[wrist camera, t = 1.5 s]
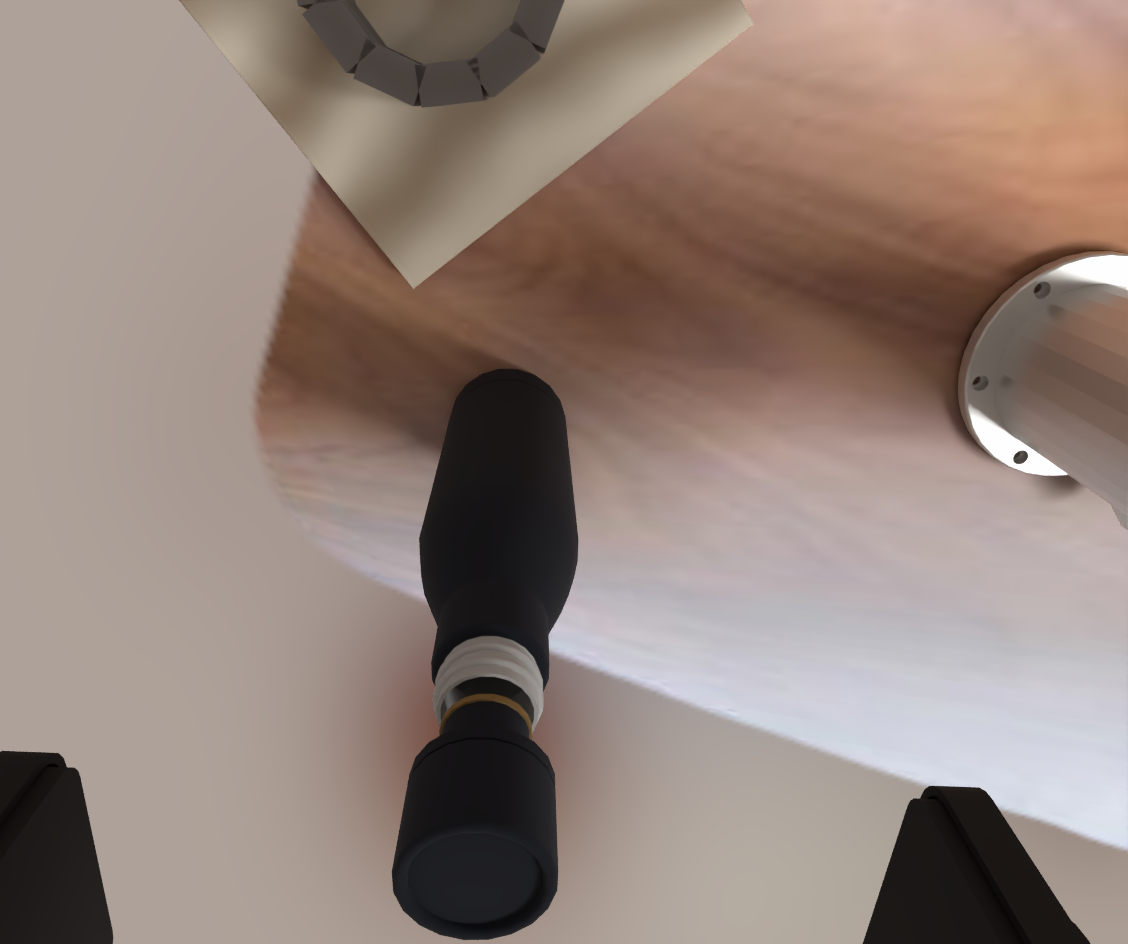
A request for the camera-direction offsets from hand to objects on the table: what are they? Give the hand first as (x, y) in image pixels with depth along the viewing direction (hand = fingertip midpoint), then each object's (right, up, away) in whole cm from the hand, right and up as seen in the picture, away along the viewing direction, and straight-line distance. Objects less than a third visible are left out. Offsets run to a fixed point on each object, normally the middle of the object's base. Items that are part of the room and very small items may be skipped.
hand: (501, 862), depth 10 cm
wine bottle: (-2, +7, +37) cm, 38 cm away
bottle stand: (-5, +27, +28) cm, 39 cm away
